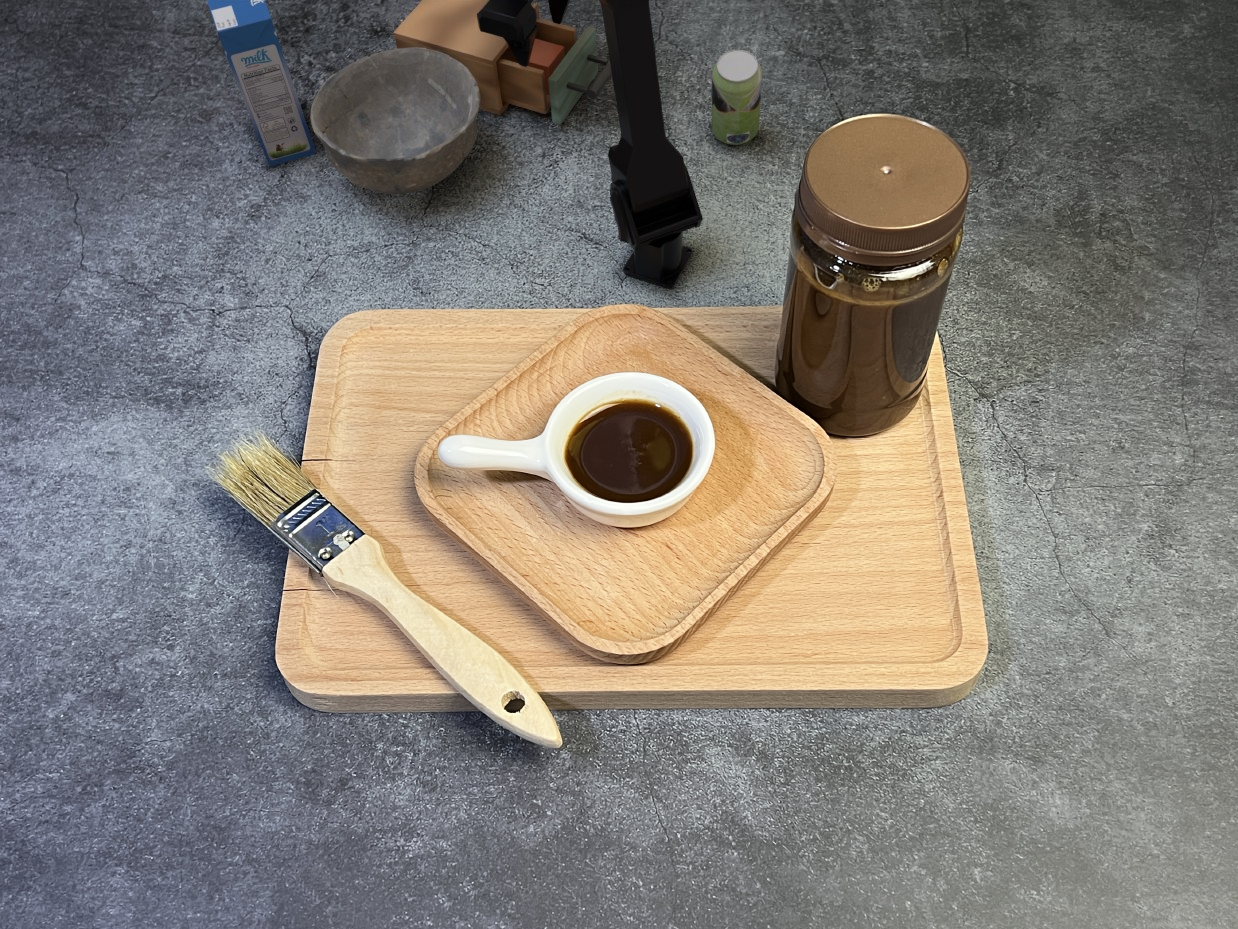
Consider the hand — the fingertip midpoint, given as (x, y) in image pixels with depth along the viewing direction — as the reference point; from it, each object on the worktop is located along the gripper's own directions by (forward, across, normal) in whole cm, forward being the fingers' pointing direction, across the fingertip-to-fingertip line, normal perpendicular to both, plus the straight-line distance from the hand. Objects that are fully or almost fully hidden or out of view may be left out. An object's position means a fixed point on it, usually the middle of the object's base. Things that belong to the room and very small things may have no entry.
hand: (540, 43), depth 141 cm
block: (+6, 0, 0) cm, 6 cm away
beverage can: (+8, -2, +26) cm, 28 cm away
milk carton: (+8, +21, -28) cm, 36 cm away
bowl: (+8, +19, -10) cm, 23 cm away
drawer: (+7, 0, +1) cm, 7 cm away
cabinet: (+8, 0, -11) cm, 13 cm away
